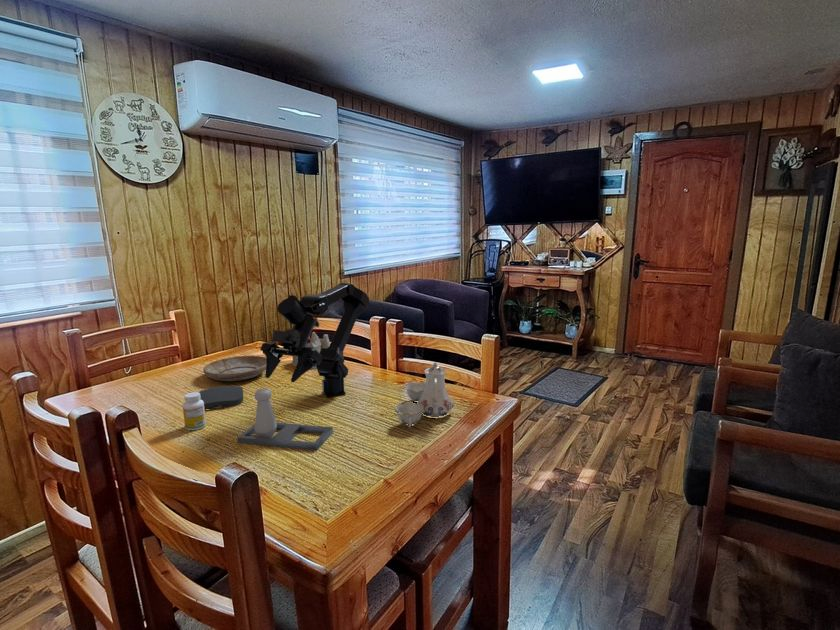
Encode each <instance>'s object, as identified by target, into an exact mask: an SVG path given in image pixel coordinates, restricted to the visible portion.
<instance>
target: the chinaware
mask: <svg viewBox="0 0 840 630" xmlns="http://www.w3.org/2000/svg"><path fill="white" fill-rule="evenodd" d="M423 373H424V374H425V381H420V382H416V381H411V382H409V383H408V384H407V385H403V388H404V389H405V391H406V393H407V396H408V398H409V399H410V400H411V401H406V402H404V403H403V404H400V403H397V404H395V406H394V411H395V413H396V415H397V417H398V419H399V421H400V422H401V423H403V425H404V424H408V427H407V428H409V429H410V428H412V427H411V426H412V424H417V423H418V422H419V421H420V419H421V418H422V413H423V414H424V415H426V416H431V417H439V416H444V415H446V414H447V413H448V412H449V413H450V411H451V410H452V409H453V408H454V406H455V405H454V402H453V400H452V398H451V397H450V396H449V394H448V391H447V387H446V383H445V381H446V379H445V377H446V376H445V375H446V373H447V370H446V369H444V368H441V366H439V364H438V362H435V361H434V363H432V365H431V366H430V367H429V368H426V369H425V370H424V372H423ZM413 400H414V401H418V403H413Z"/></svg>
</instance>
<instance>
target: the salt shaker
mask: <svg viewBox="0 0 840 630" xmlns="http://www.w3.org/2000/svg"><path fill="white" fill-rule="evenodd" d="M272 395H273V394H272V390H271V389H269V388H260V389H257V390H256V391H255V392H254V399H255V401H257V403H256V410H255V420H254V424H255V427H254V430H255V434H256V435H257V437H263V438H273V437H274V436H275V433H276V430H277V429H276V427H277V424H276V422H277V420H276V417H275V414H274V410H273V406H272V401H271V398H272Z"/></svg>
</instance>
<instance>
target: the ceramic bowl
mask: <svg viewBox="0 0 840 630" xmlns="http://www.w3.org/2000/svg"><path fill="white" fill-rule="evenodd" d="M263 372H266V356H260V355H239V356H232V357H227V358H225V357H224V358H221V359H217V360H214V361H212V362H209V363H207V364H206V365H205V366H203V373H204V375H205V376H206V377H208V378H209V379H213V380H215V381H219V382H220V381H221V382H238V381H239V382H240V381H245V380H249V379H252V378H255V377H257V376H259V375H261V374H262V373H263Z"/></svg>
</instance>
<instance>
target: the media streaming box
mask: <svg viewBox="0 0 840 630" xmlns="http://www.w3.org/2000/svg"><path fill="white" fill-rule="evenodd" d="M243 388H244V387H242V386H238V385H221V386H214V387H209V388H206V389H204V390H202V389H201V391H200V390H199V391H198V392H199V393H200V396H201V398H200V399H201V400H203V402H204V408H205V409H211V410H217V409H216V408H219V409H224V408H225V407H226V408H231V407H235V406H236V407H237V406H239V405H242V404H243V402H244V389H243Z"/></svg>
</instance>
